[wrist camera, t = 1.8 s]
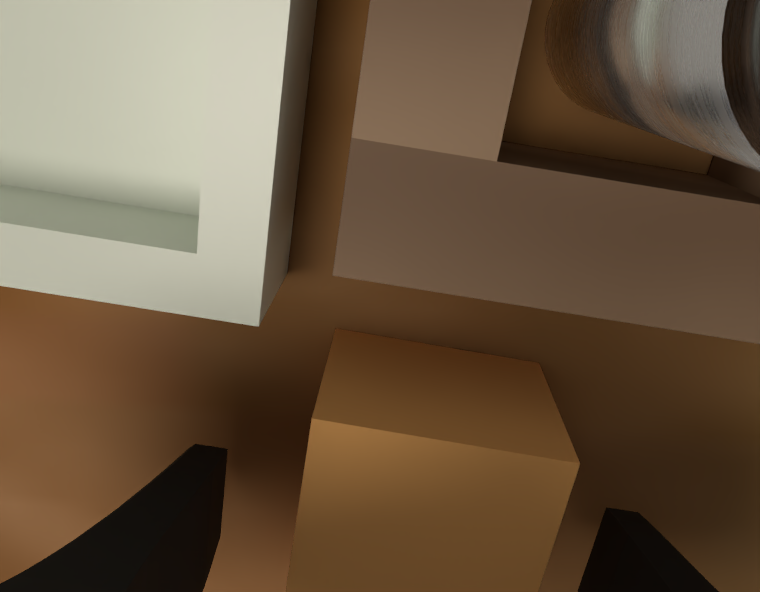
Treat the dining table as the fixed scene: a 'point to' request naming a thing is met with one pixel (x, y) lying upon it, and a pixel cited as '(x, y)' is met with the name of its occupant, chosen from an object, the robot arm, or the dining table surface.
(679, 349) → the dining table surface
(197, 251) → the tray
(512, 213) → the socket block
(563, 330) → the dining table surface
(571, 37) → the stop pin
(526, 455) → the block
